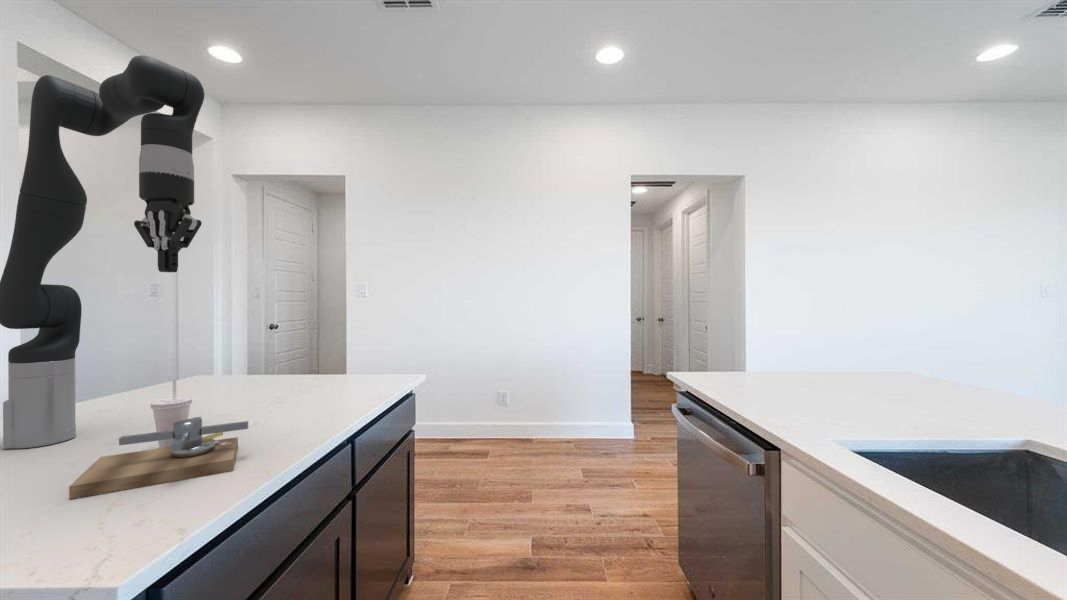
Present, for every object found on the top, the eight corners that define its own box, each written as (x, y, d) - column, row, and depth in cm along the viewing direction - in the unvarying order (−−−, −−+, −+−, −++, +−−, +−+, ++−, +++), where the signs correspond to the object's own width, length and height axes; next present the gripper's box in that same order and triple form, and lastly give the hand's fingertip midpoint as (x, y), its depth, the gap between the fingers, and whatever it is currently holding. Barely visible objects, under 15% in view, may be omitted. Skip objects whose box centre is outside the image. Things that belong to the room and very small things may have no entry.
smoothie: (173, 454, 82) (173, 382, 82) (141, 454, 82) (141, 382, 82) (200, 443, 88) (200, 376, 88) (170, 442, 88) (170, 376, 88)
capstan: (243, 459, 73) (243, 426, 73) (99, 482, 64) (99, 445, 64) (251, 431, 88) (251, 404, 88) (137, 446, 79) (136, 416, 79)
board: (69, 499, 63) (69, 485, 63) (100, 468, 75) (100, 455, 75) (232, 470, 74) (232, 458, 74) (237, 446, 86) (237, 436, 86)
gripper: (217, 179, 78) (217, 272, 78) (161, 183, 81) (161, 273, 81) (174, 167, 71) (174, 270, 71) (115, 172, 74) (115, 271, 74)
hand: (167, 272), depth 76 cm, fingers closed
